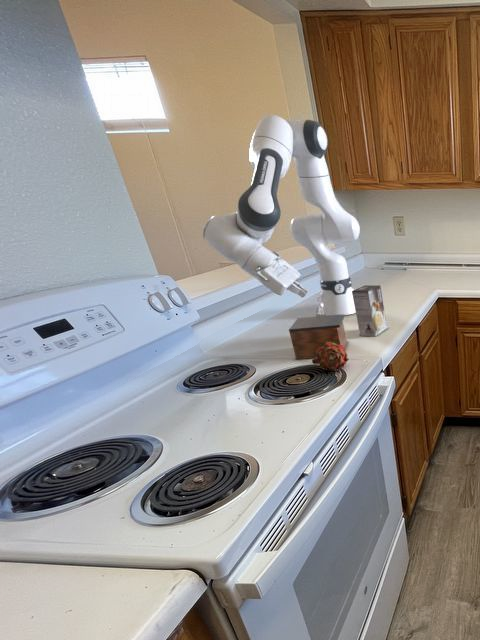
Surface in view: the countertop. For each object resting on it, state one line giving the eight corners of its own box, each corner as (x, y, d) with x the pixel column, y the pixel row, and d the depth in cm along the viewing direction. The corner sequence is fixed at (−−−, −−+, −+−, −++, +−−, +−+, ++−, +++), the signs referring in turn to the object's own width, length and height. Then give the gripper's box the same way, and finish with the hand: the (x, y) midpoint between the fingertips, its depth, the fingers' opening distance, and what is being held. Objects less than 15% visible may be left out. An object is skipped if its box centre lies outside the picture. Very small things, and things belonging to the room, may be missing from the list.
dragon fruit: (343, 380, 116) (325, 375, 124) (361, 356, 119) (342, 352, 127) (318, 362, 110) (301, 358, 118) (338, 337, 113) (320, 335, 121)
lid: (344, 316, 138) (344, 314, 138) (339, 327, 127) (339, 324, 126) (298, 320, 135) (297, 317, 135) (289, 331, 124) (288, 329, 124)
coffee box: (371, 327, 155) (364, 284, 148) (387, 328, 154) (381, 285, 147) (359, 335, 147) (351, 290, 140) (376, 336, 145) (368, 291, 139)
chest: (346, 341, 141) (342, 316, 138) (342, 354, 130) (337, 327, 126) (304, 345, 139) (298, 320, 135) (296, 359, 128) (289, 332, 124)
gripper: (258, 261, 111) (305, 294, 117) (277, 251, 129) (317, 280, 135) (244, 279, 112) (292, 311, 118) (265, 267, 130) (306, 295, 136)
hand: (305, 294), depth 127 cm, fingers closed
